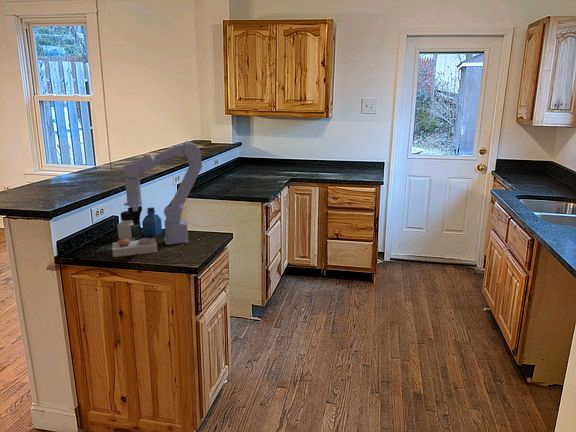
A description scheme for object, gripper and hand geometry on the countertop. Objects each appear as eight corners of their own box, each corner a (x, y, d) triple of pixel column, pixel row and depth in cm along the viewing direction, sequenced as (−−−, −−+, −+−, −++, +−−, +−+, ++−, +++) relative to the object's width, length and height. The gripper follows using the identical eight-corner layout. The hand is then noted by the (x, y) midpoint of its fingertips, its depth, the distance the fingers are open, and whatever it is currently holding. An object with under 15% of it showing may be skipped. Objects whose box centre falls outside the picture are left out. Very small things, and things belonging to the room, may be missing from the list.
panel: (155, 245, 195) (155, 238, 194) (157, 252, 187) (157, 245, 186) (113, 249, 190) (112, 242, 189) (113, 257, 181) (112, 249, 180)
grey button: (150, 246, 192) (149, 237, 191) (151, 249, 188) (150, 240, 187) (139, 247, 191) (138, 238, 190) (139, 250, 186) (139, 241, 186)
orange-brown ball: (130, 247, 189) (129, 238, 188) (130, 250, 185) (129, 241, 184) (118, 248, 188) (118, 239, 187) (118, 251, 184) (118, 242, 183)
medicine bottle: (132, 240, 202) (129, 214, 198) (118, 239, 203) (115, 213, 200) (141, 235, 208) (139, 210, 205) (128, 234, 210) (125, 209, 207)
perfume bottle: (155, 235, 208) (153, 210, 205) (143, 235, 209) (141, 209, 206) (162, 232, 214) (160, 207, 211) (149, 231, 215) (147, 206, 212)
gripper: (123, 189, 194) (126, 220, 198) (123, 196, 181) (126, 229, 185) (140, 188, 197) (143, 219, 200) (142, 195, 183) (145, 227, 187)
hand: (136, 224), depth 193 cm, fingers closed
